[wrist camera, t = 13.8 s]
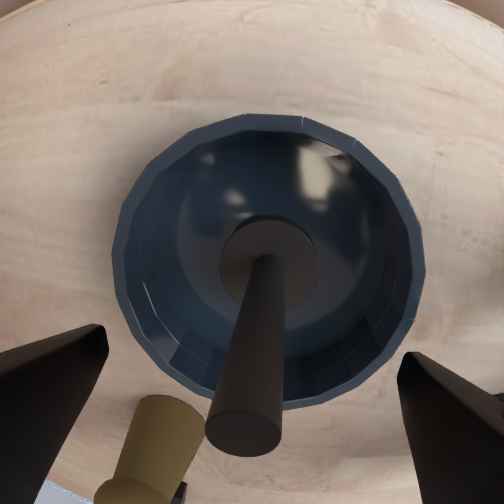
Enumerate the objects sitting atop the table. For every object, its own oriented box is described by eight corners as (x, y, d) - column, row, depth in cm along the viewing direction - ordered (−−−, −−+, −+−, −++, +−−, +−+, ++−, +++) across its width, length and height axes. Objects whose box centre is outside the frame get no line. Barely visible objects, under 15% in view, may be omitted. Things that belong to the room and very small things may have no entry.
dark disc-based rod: (321, 218, 16) (396, 345, 5) (310, 305, 18) (334, 495, 6) (225, 211, 17) (108, 318, 5) (223, 298, 18) (147, 473, 7)
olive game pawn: (133, 386, 22) (68, 492, 11) (208, 404, 21) (167, 530, 11) (140, 433, 23) (93, 527, 13) (205, 450, 23) (175, 555, 13)
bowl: (406, 141, 15) (442, 137, 11) (369, 367, 19) (384, 412, 15) (148, 127, 16) (108, 120, 12) (157, 350, 20) (131, 390, 16)
